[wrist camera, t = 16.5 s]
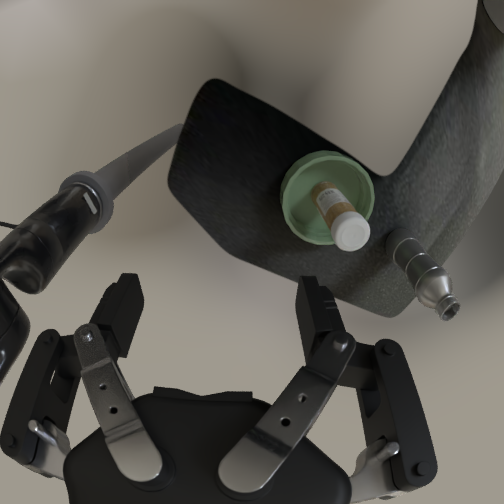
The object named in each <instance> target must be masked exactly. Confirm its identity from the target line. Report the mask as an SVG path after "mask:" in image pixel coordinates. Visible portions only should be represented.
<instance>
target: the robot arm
mask: <svg viewBox="0 0 504 504" xmlns="http://www.w3.org/2000/svg"><path fill="white" fill-rule="evenodd" d="M102 216H103V203H102V200H101V197H100V195H99V193H98V192H97V191H96V189H95V188H94V187H92V186H91V185H90V184H88V183H86V182H82V181H76V182H73V183H71V184H69V185H68V186H67V187H65V188H64V189H63V190H62V191H60V192H59V193H58V194H56V195H55V196H54V197H53V198H51V199H50V200H48V201H47V202H46V203H44V204H43V205H42V206H41V207H39V208H38V209H37V210H36V211H35V212H33V213H32V214H31V215H30V216H29V217H27V218H26V219H25V220H24V221H23V222H22V223H20V224H19V225H13V224H9V223H5V222H0V226H4V227H9V228H12V229H14V230H13V231H12V232H10V233H9V234H8V235H7V236H6V237H5V238H4V239H3V240H2V241H1V242H0V385H1V384H2V382H3V380H4V379H5V377H6V375H7V374H8V372H9V370H10V369H11V367H12V366H13V364H14V362H15V361H16V359H17V358H18V356H19V354H20V353H21V351H22V349H23V347H24V345H25V343H26V341H27V338H28V336H29V332H30V321H29V319H28V317H27V315H26V313H25V312H24V311H23V309H22V308H21V306H20V305H19V304H18V302H17V301H16V299H15V298H14V296H13V295H12V293H11V292H10V291H9V289H8V288H7V286H6V285H5V283H4V281H3V280H2V278H3V279H4V280H6V281H8V282H9V283H11V284H12V285H13V286H14V287H16V288H17V289H19V290H21V291H22V292H25V293H28V294H38V293H40V292H42V291H43V290H44V289H45V288H46V287H47V285H48V284H49V283H50V281H51V280H52V279H53V277H54V276H55V274H56V273H57V272H58V270H59V269H60V268H61V267H62V265H63V264H64V263H65V261H66V260H67V259H68V257H69V256H70V255H71V254H72V252H73V251H74V250H75V249H76V248H77V247H78V245H79V244H80V243H81V242H82V241H83V239H84V238H85V237H86V236H87V235H88V234H89V232H90V231H91V230H92V229H93V228H94V227H95V226H96V225H97V224H98V223H99V222H100V220H101V218H102ZM295 306H296V315H297V319H298V325H299V330H300V334H301V340H302V345H303V350H304V356H305V361H306V366H302V367H301V368H300V369H299V371H298V372H297V373H296V375H295V376H294V377H293V379H292V380H291V381H290V383H289V384H288V385H287V387H286V388H285V390H284V391H283V392H282V393H281V395H280V396H279V397H278V398H277V400H276V401H275V402H274V404H273V405H270V404H269V403H267V402H265V401H262V400H259V399H255V398H253V397H252V392H236V391H235V392H233V391H231V392H230V391H227V392H222V393H216V394H211V395H206V396H200V395H196V394H193V393H189V392H186V391H183V390H180V389H175V388H165V387H156V386H155V387H154V390H153V393H150V394H146V395H142V396H139V397H137V398H135V397H134V396H133V394H132V392H131V390H130V388H129V386H128V384H127V382H126V380H125V378H124V376H123V374H122V372H121V370H120V368H119V366H118V364H117V360H118V357H123V358H127V354H128V351H129V348H130V345H131V342H132V339H133V336H134V333H135V330H136V328H137V325H138V322H139V319H140V316H141V313H142V311H143V307H144V296H143V293H142V289H141V285H140V281H139V278H138V275H137V274H133V273H123V274H121V276H120V278H119V280H118V282H117V283H112V284H111V285H110V286H109V287H108V288H107V289H106V291H105V292H104V294H103V298H101V300H100V303H99V304H98V306H97V308H96V310H95V312H94V313H93V315H92V317H91V320H90V322H89V323H88V324H84V325H82V326H80V327H79V328H78V329H77V330H76V331H75V333H74V334H73V335H67V336H60V335H59V333H58V332H57V331H56V330H55V329H47V330H45V331H43V332H42V333H41V334H40V335H39V336H38V338H37V340H36V342H35V344H34V346H33V348H32V350H31V353H30V355H29V357H28V359H27V362H26V364H25V366H24V368H23V371H22V373H21V376H20V378H19V381H18V383H17V386H16V388H15V391H14V394H13V397H12V399H11V402H10V405H9V408H8V411H7V414H6V418H5V421H4V424H3V427H2V431H1V435H0V447H1V449H2V451H3V452H4V453H5V454H6V455H7V456H9V457H11V458H12V459H14V460H15V461H17V462H18V463H19V464H21V465H22V466H25V467H26V468H28V469H30V470H32V471H33V472H36V473H39V474H41V475H43V476H45V477H48V478H52V477H56V478H58V479H61V480H64V481H65V484H66V487H67V490H68V495H69V503H70V504H352V503H357V502H362V501H366V500H371V499H375V498H380V499H383V500H386V499H391V498H394V497H397V496H400V495H402V494H405V493H408V492H410V491H413V490H415V489H418V488H420V487H423V486H425V485H427V484H429V483H430V482H431V481H432V480H433V479H434V477H435V476H436V473H437V469H438V468H437V467H438V466H437V460H436V456H435V452H434V448H433V444H432V440H431V436H430V432H429V429H428V425H427V421H426V418H425V414H424V411H423V408H422V404H421V401H420V398H419V395H418V392H417V389H416V386H415V383H414V380H413V377H412V374H411V371H410V369H409V366H408V363H407V360H406V358H405V355H404V352H403V350H402V348H401V346H400V345H399V344H398V343H397V342H395V341H393V340H390V339H382V340H379V341H378V342H377V343H376V344H375V346H374V345H367V344H363V343H359V342H356V341H355V339H354V338H353V336H352V335H351V334H349V333H348V332H346V330H345V327H344V324H343V321H342V319H341V316H340V313H339V310H338V309H337V305H336V303H335V299H334V296H333V294H332V292H331V291H330V290H329V289H328V288H327V287H326V286H319V284H318V281H317V278H316V276H300V278H299V283H298V289H297V295H296V303H295ZM54 370H55V373H54V376H53V379H52V382H51V384H50V381H51V378H52V375H53V372H54ZM81 377H82V380H83V383H84V385H85V388H86V391H87V394H88V397H89V399H90V402H91V405H92V407H93V410H94V412H95V415H96V417H97V419H98V422H99V424H100V427H99V428H98V429H97V430H95V431H94V432H93V433H92V434H91V435H89V436H88V437H87V438H85V439H84V440H83V441H82V442H80V443H79V444H78V445H77V446H76V447H74V448H73V449H72V450H71V448H70V442H69V439H68V437H67V435H66V431H67V427H68V422H69V418H70V414H71V410H72V407H73V403H74V399H75V395H76V392H77V389H78V385H79V382H80V379H81ZM337 385H340V386H346V387H352V388H356V392H357V397H358V401H359V407H360V412H361V417H362V423H363V428H364V434H365V440H366V446H367V448H366V449H364V450H363V451H362V452H361V453H360V454H359V456H358V457H357V460H356V469H355V471H354V473H353V475H352V476H351V477H348V475H347V474H346V472H345V471H344V470H343V469H342V468H341V467H340V466H338V465H337V464H336V463H335V462H334V461H332V460H331V459H330V458H329V457H328V456H327V455H326V454H325V453H323V452H322V451H321V450H320V449H319V448H318V447H317V446H316V445H315V444H313V443H312V442H311V441H310V440H309V439H308V438H307V437H306V435H307V433H308V432H309V430H310V429H311V428H312V426H313V424H314V423H315V421H316V420H317V418H318V416H319V415H320V413H321V412H322V410H323V408H324V407H325V405H326V403H327V402H328V400H329V399H330V397H331V395H332V393H333V392H334V390H335V388H336V387H337Z"/></svg>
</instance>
